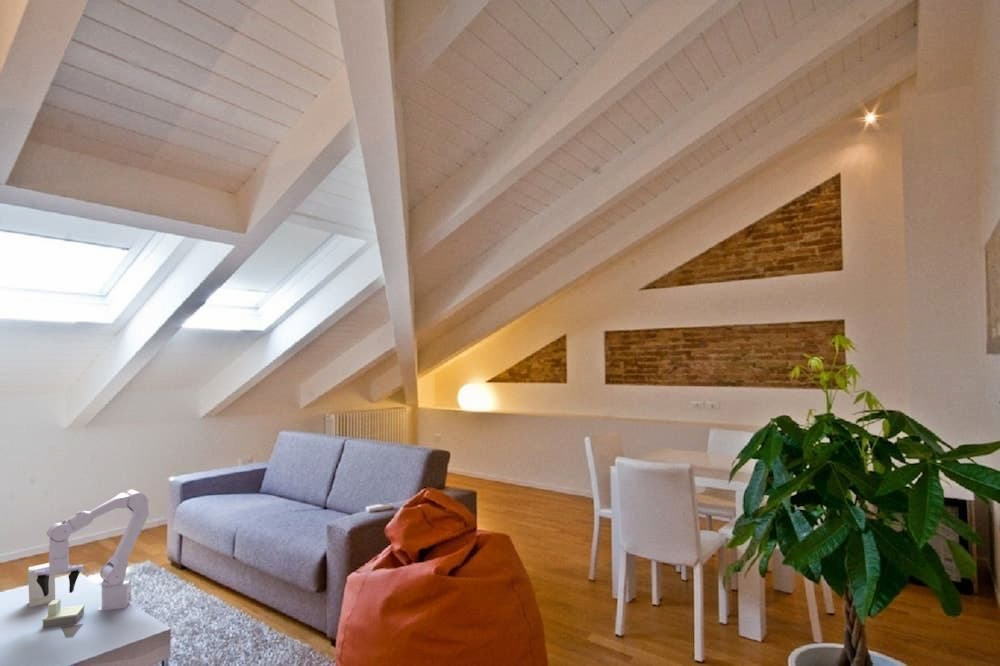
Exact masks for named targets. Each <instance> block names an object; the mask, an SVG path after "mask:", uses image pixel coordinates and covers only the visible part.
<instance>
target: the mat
mask: <svg viewBox="0 0 1000 666" xmlns="http://www.w3.org/2000/svg"><path fill="white" fill-rule="evenodd" d="M83 625H84V623H79V624H77V623H76V624H70V625H63V626H61V627H60V628H61V631H62V633H63V635H64V637H65V639H69V638H73V637H75V635H76V634H77V633H78V631H79V630H80V629H81V627H83Z"/></svg>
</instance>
